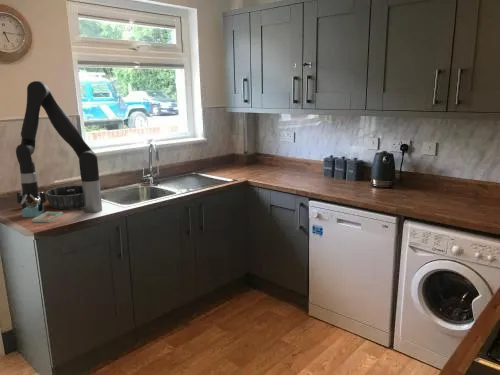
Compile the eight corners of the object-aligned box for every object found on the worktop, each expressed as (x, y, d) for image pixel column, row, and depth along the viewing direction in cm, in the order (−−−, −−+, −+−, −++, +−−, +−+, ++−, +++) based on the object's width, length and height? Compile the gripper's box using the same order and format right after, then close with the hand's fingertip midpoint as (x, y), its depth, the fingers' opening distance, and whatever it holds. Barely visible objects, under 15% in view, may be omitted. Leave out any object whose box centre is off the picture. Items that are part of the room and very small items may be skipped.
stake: (31, 213, 227) (29, 202, 225) (45, 213, 226) (43, 202, 225) (22, 218, 219) (20, 206, 218) (36, 218, 218) (35, 206, 217)
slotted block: (34, 211, 228) (33, 204, 227) (44, 211, 227) (43, 204, 227) (22, 217, 217) (21, 209, 216) (32, 217, 217) (31, 209, 216)
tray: (47, 216, 222) (47, 211, 221) (63, 216, 221) (62, 211, 220) (32, 223, 208) (32, 219, 208) (49, 224, 208) (48, 219, 207)
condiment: (27, 210, 233) (24, 189, 231) (25, 207, 240) (22, 187, 238) (41, 208, 238) (38, 188, 235) (38, 205, 244) (36, 185, 242)
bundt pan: (93, 210, 231) (91, 193, 229) (42, 214, 226) (39, 196, 223) (99, 199, 256) (97, 183, 254) (53, 202, 251) (51, 186, 249)
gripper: (46, 179, 221) (49, 209, 225) (20, 179, 222) (24, 208, 226) (38, 182, 214) (41, 212, 218) (11, 182, 215) (15, 212, 219)
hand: (32, 210), depth 222 cm, fingers open, 8 cm apart
